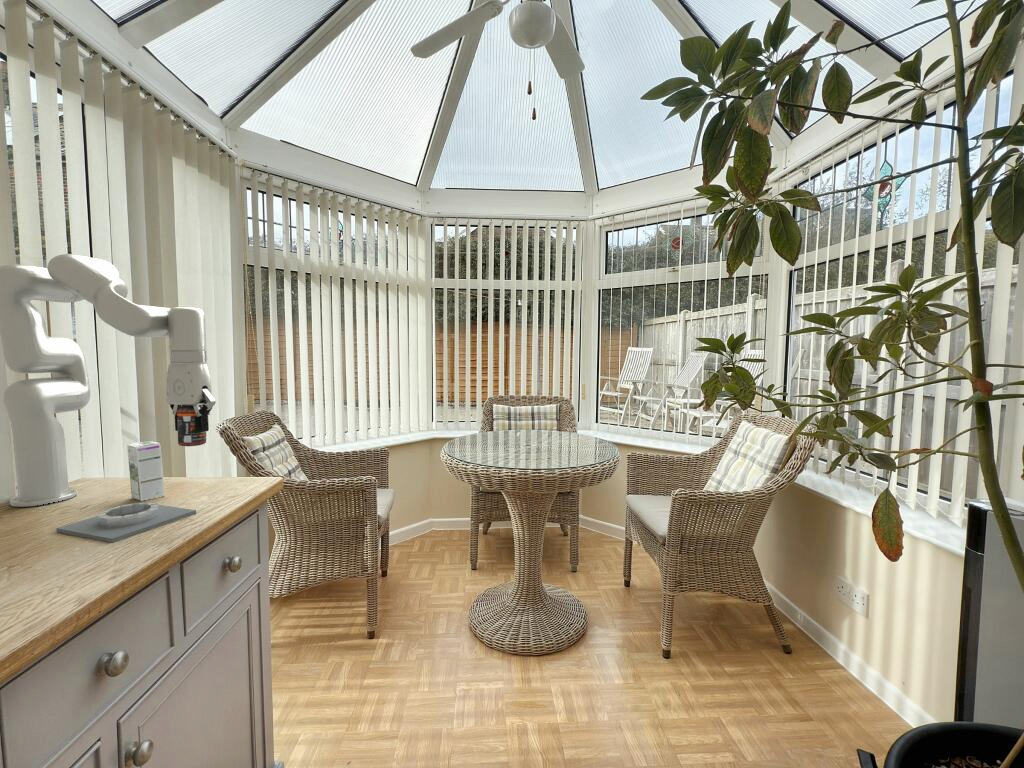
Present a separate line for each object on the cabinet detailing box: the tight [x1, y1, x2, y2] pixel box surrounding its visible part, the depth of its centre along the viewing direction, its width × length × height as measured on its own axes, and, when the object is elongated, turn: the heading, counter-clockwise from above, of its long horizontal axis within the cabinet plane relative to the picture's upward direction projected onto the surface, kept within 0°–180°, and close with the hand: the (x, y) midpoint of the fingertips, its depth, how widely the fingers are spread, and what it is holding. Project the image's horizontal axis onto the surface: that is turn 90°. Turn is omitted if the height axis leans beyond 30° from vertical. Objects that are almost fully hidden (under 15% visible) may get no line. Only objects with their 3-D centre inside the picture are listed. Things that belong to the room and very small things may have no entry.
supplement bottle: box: [177, 401, 207, 447], centre depth 121 cm, size 6×6×11 cm
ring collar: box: [98, 501, 158, 528], centre depth 110 cm, size 10×10×2 cm
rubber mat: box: [55, 504, 197, 543], centre depth 110 cm, size 18×18×1 cm
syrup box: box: [127, 440, 165, 502], centre depth 128 cm, size 6×6×14 cm
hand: (192, 430), depth 121 cm, fingers closed on supplement bottle, 6 cm apart
